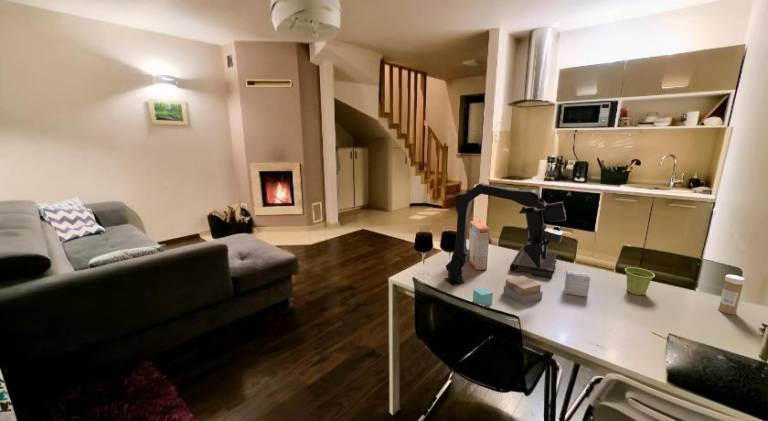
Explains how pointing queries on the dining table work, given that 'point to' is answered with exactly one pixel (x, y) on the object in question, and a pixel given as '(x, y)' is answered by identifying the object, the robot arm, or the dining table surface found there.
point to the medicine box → (577, 283)
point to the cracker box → (478, 245)
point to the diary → (528, 266)
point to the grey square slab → (523, 298)
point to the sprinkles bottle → (731, 294)
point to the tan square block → (523, 285)
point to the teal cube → (482, 296)
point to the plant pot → (638, 280)
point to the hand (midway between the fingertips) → (541, 263)
